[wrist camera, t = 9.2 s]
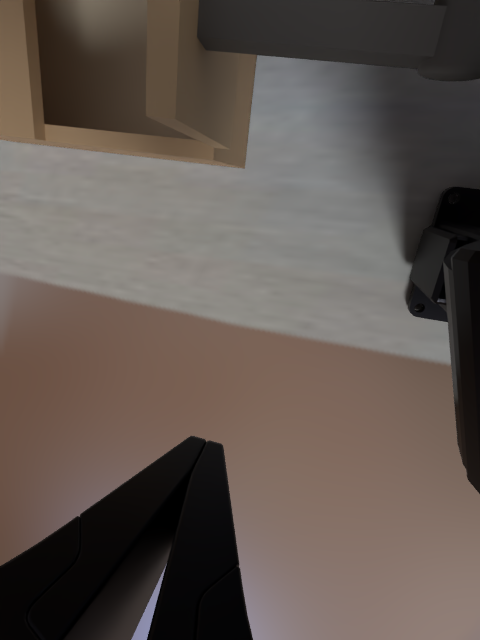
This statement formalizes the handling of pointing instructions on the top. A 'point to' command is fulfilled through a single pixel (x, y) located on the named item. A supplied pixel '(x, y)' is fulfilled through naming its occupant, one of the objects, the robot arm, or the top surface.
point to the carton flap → (291, 48)
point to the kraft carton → (96, 83)
